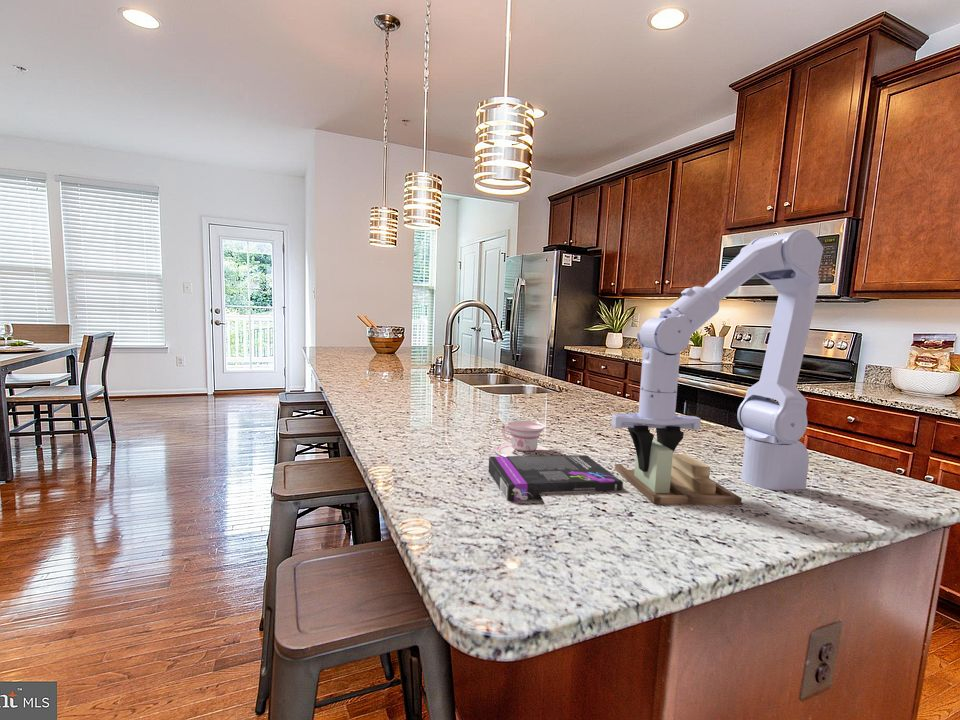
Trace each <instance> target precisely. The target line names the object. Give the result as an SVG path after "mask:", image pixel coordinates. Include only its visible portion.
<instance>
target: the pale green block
mask: <svg viewBox="0 0 960 720" xmlns="http://www.w3.org/2000/svg"><path fill="white" fill-rule="evenodd" d="M673 454H674V452H673V450H671V449H669V448H667V447H666V446H664V445H662V444H661V443H659V442H657V439H654V438H653V441H652V444H651V449H650V455H649V467H648V472H643V471H642V470H640V469H639V465H638V458H637V453H636V452H635V458H634V459H635V462H634V470H635V471H634V476H635V477H637V478H638V479H639V480H640V481H641V482H643V483H644V484H645V485H646V486H647V487H649V488H650V489H651V490H652V491H653V492H655V493H670V481H671V469H672V457H673Z"/></svg>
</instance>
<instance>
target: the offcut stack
mask: <svg viewBox="0 0 960 720" xmlns="http://www.w3.org/2000/svg"><path fill="white" fill-rule="evenodd" d="M710 472H711V466H710V465H708V464H706V463H703V462H702V461H700V460H698V459H696V458H694V457H692V456H690V455H688V454H687V453H685V454H684V453H677V454H676V453H675V454H674V453H673V457H672V469H671V476H672V477H674V478H675V479H677V480H678V481H680V482H681V483H682V484H684V485H685V486H687V487H688V488H690V489H691V490H692V491H694V492H695V493H697V494H698V495H711V496H715V492H716V483H717V482H716V483H714V482H715V481H714V480H713V481H714V482H713V481H711V480H712V479H711V480H709V478H710V474H711V473H710Z"/></svg>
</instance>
